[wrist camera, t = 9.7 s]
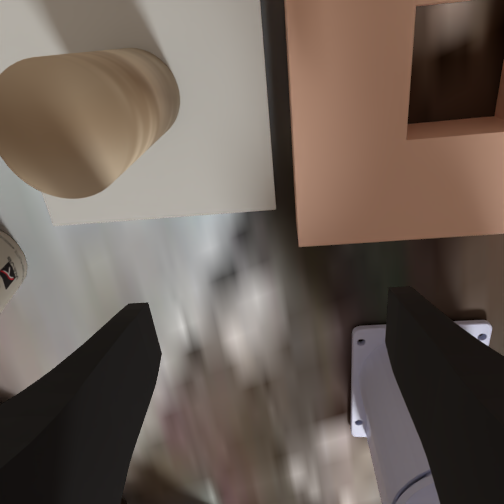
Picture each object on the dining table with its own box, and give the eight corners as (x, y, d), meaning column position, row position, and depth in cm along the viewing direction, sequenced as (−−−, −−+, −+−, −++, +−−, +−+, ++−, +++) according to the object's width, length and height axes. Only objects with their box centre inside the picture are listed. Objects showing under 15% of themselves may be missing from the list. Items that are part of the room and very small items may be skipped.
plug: (187, 136, 20) (141, 193, 13) (106, 144, 20) (17, 204, 13) (171, 42, 18) (106, 48, 11) (81, 53, 18) (-37, 65, 11)
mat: (276, 205, 22) (276, 209, 21) (58, 221, 23) (53, 226, 22) (254, -80, 16) (253, -84, 16) (-32, -42, 17) (-41, -44, 17)
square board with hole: (574, 201, 21) (617, 226, 18) (296, 221, 22) (298, 247, 20) (677, -174, 15) (767, -220, 12) (277, -117, 16) (278, -146, 13)
